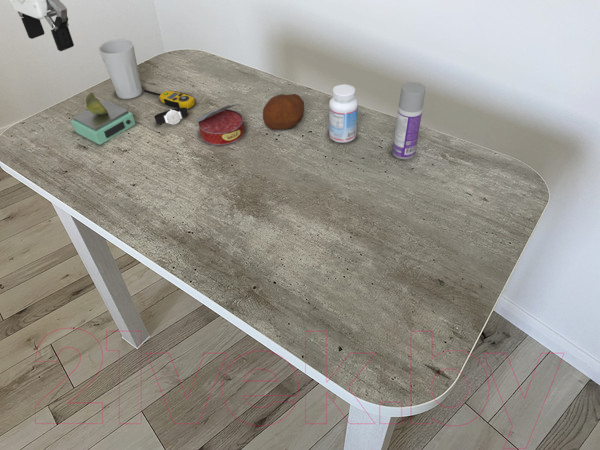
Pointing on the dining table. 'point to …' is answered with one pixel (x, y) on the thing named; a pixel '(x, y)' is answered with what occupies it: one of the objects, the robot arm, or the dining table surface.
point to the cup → (122, 67)
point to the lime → (95, 105)
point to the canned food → (221, 126)
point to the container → (408, 120)
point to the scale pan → (101, 116)
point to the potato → (283, 111)
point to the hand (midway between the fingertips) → (51, 42)
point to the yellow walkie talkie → (175, 99)
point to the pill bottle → (343, 114)
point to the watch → (171, 116)
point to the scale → (105, 129)
